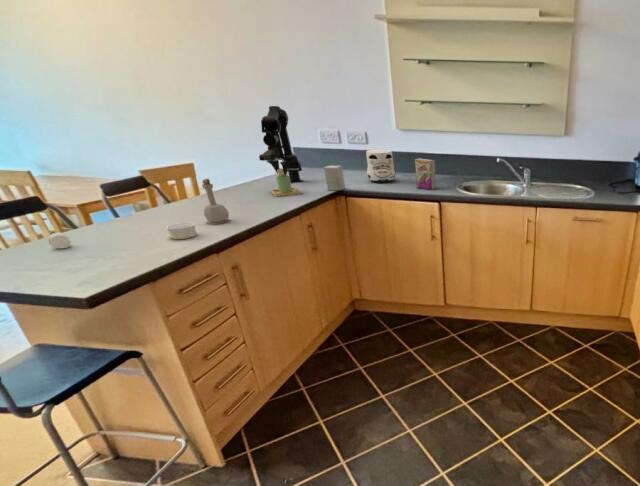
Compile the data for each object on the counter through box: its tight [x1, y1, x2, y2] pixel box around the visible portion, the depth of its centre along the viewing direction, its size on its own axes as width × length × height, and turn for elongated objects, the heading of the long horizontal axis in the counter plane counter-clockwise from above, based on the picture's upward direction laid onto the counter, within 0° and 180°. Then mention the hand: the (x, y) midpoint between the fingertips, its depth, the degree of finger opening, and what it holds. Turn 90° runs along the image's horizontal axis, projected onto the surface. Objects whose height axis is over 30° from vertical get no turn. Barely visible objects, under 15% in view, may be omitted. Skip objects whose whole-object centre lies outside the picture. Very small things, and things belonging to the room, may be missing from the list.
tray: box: [270, 186, 302, 198], centre depth 227 cm, size 12×12×1 cm
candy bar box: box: [414, 157, 437, 191], centre depth 244 cm, size 11×5×16 cm, turn 65°
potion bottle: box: [201, 178, 230, 225], centre depth 175 cm, size 9×9×18 cm
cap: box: [276, 168, 284, 176], centre depth 222 cm, size 4×4×3 cm
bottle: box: [275, 174, 293, 193], centre depth 225 cm, size 6×6×12 cm
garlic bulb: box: [47, 232, 72, 249], centre depth 147 cm, size 6×6×5 cm
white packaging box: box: [323, 165, 346, 191], centre depth 236 cm, size 7×7×13 cm
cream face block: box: [365, 149, 397, 183], centre depth 258 cm, size 17×17×18 cm
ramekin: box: [166, 221, 197, 240], centre depth 160 cm, size 9×9×4 cm
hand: (282, 174), depth 223 cm, fingers closed on cap, 4 cm apart
